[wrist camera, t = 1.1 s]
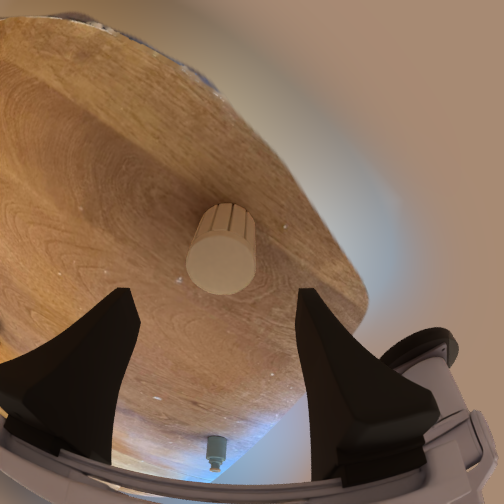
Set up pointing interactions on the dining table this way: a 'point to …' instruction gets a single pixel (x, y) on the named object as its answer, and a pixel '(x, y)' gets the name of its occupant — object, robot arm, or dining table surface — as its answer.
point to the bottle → (216, 452)
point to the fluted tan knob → (223, 250)
